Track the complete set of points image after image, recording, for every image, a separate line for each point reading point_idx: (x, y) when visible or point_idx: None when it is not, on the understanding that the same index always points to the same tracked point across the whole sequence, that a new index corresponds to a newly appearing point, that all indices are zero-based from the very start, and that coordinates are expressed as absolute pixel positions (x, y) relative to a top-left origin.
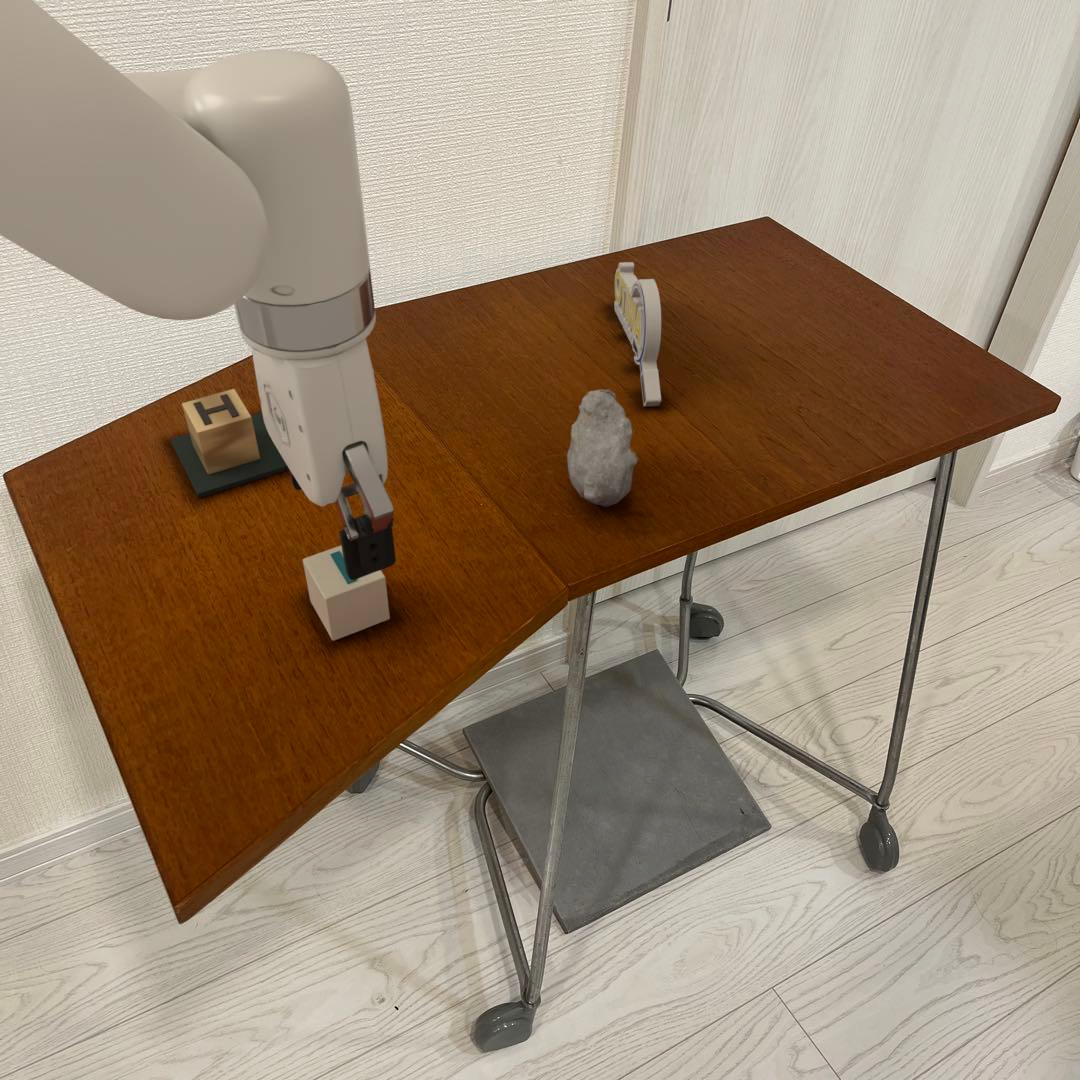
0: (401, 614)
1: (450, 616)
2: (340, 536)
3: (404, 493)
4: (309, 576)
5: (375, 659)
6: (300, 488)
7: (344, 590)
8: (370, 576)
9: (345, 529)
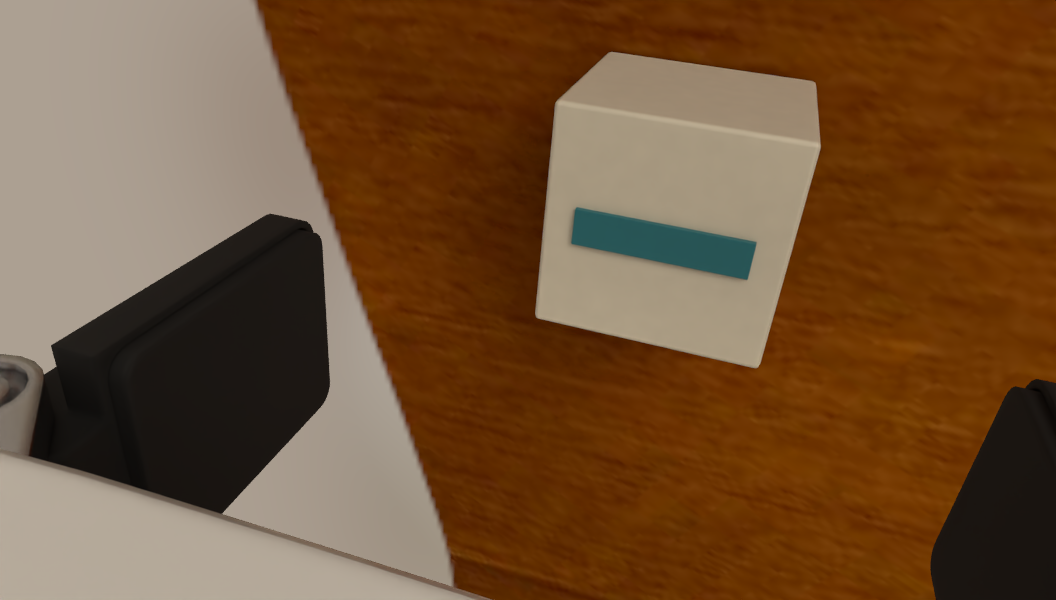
0: None
1: (507, 347)
2: (103, 338)
3: None
4: (747, 119)
5: (481, 118)
6: (1010, 398)
7: (554, 181)
8: (563, 285)
9: (22, 393)
